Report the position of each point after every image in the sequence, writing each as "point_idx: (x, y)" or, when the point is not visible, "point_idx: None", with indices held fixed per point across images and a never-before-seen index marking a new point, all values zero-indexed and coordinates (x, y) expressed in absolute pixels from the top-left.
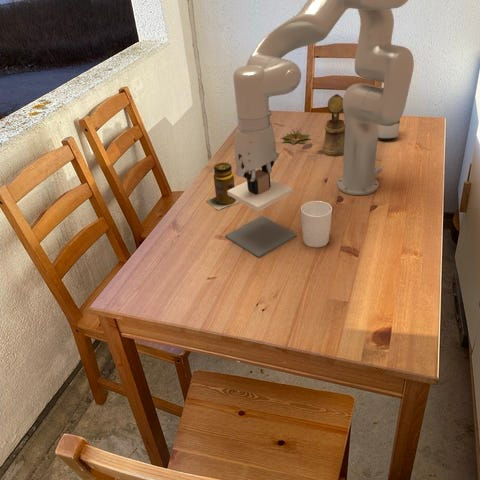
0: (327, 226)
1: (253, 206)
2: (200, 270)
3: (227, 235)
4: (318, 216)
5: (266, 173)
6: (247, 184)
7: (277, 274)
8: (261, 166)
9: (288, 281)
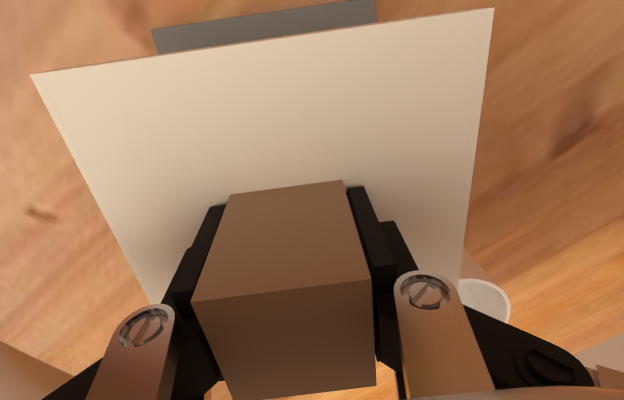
0: None
1: None
2: (7, 164)
3: (160, 39)
4: None
5: (365, 375)
6: (172, 278)
7: None
8: (400, 342)
9: None
